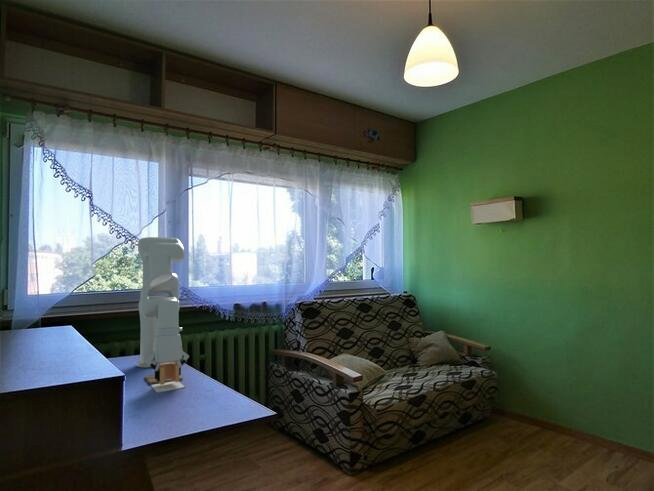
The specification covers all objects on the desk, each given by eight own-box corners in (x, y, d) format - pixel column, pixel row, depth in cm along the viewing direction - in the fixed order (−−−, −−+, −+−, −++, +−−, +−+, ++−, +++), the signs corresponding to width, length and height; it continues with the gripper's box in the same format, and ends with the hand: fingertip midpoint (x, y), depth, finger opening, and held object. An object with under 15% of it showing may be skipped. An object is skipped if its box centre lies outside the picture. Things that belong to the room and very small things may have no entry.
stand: (144, 378, 170) (144, 364, 170) (175, 373, 177) (175, 360, 177) (150, 385, 160) (150, 371, 160) (182, 380, 167) (182, 366, 167)
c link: (156, 380, 159) (156, 364, 159) (174, 377, 163) (174, 362, 163) (160, 384, 153) (160, 368, 154) (179, 381, 157) (179, 365, 157)
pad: (151, 386, 159) (151, 385, 159) (178, 381, 165) (178, 380, 165) (156, 392, 151) (156, 391, 151) (184, 387, 157) (184, 386, 157)
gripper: (188, 328, 167) (188, 373, 166) (141, 332, 157) (141, 380, 156) (193, 330, 160) (193, 377, 160) (145, 335, 151) (145, 385, 150)
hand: (167, 378), depth 158 cm, fingers closed on c link, 6 cm apart
